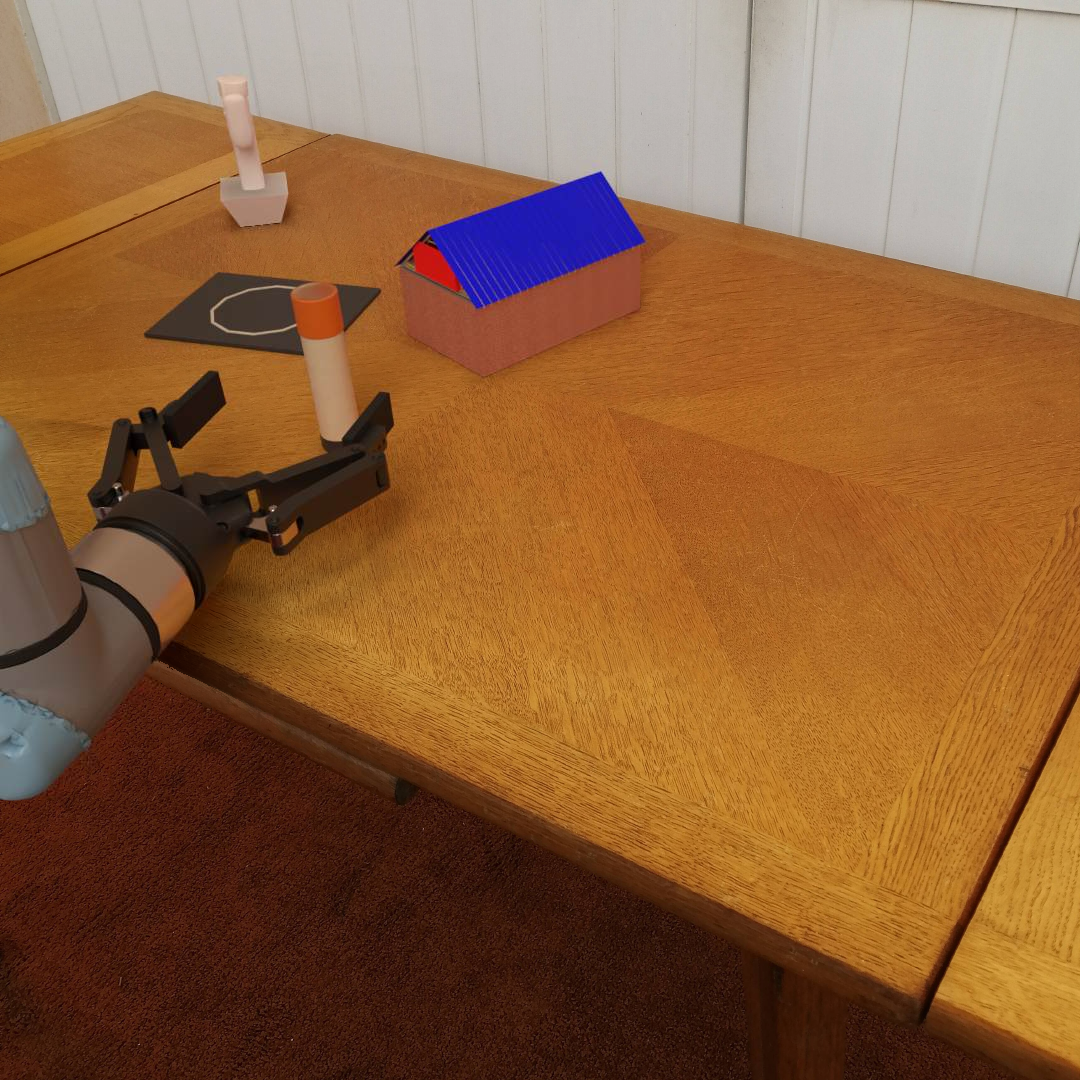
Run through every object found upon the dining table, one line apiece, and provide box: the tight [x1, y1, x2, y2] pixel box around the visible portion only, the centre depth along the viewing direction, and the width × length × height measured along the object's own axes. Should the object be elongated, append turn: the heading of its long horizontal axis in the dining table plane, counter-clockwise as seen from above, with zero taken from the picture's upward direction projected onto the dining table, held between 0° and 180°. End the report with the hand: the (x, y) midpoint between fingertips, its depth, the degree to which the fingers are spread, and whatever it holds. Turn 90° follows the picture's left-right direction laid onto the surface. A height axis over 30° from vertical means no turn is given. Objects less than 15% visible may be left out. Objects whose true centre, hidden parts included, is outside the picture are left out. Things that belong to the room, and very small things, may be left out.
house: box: [393, 170, 647, 378], centre depth 102 cm, size 12×20×12 cm, turn 133°
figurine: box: [216, 75, 289, 228], centre depth 122 cm, size 7×9×15 cm
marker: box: [291, 281, 360, 453], centre depth 86 cm, size 3×3×13 cm
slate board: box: [143, 271, 382, 356], centre depth 108 cm, size 18×14×1 cm
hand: (301, 397), depth 82 cm, fingers open, 13 cm apart
